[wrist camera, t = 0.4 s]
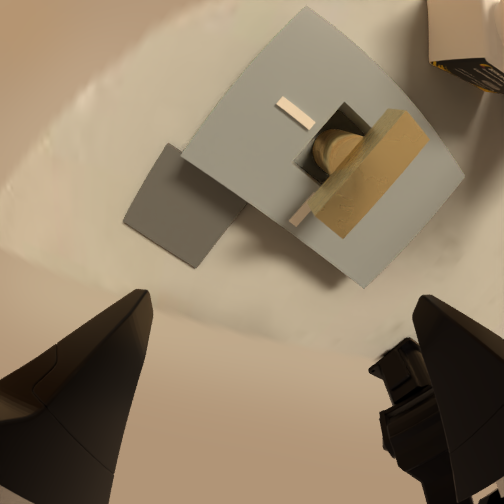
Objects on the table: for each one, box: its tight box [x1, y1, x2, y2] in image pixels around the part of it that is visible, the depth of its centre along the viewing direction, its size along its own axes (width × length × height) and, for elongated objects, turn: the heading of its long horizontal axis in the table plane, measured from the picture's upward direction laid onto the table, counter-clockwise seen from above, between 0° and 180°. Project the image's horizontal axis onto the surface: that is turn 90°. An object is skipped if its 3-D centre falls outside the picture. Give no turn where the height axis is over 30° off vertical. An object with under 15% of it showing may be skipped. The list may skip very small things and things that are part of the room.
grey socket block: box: [180, 6, 465, 289], centre depth 17 cm, size 16×12×3 cm
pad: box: [123, 143, 248, 268], centre depth 20 cm, size 7×7×1 cm
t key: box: [307, 109, 430, 239], centre depth 15 cm, size 3×7×7 cm, turn 143°
